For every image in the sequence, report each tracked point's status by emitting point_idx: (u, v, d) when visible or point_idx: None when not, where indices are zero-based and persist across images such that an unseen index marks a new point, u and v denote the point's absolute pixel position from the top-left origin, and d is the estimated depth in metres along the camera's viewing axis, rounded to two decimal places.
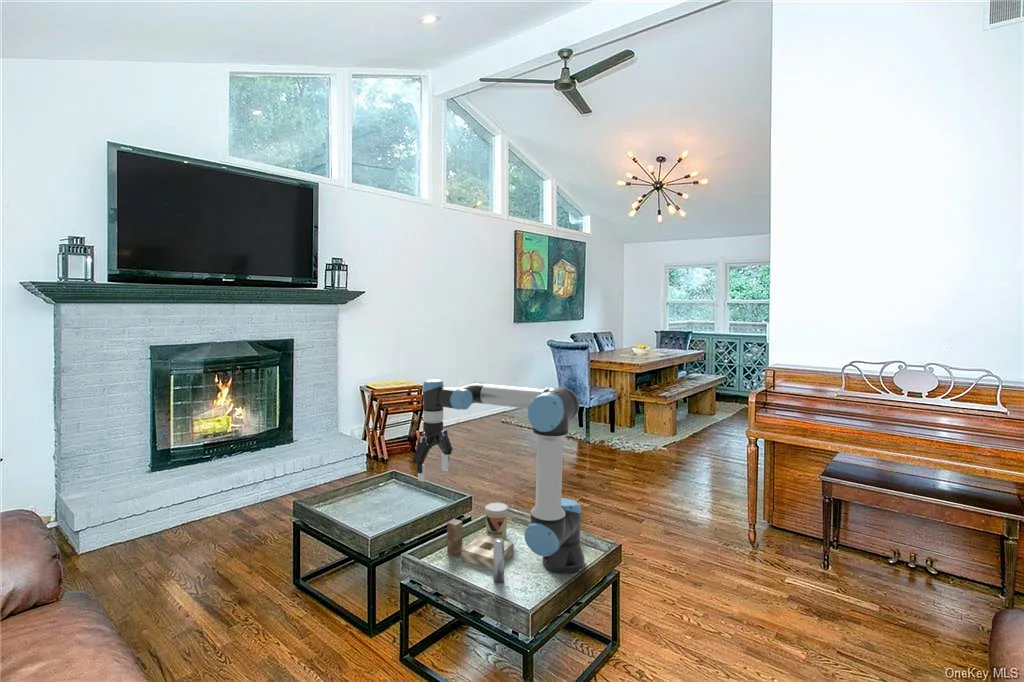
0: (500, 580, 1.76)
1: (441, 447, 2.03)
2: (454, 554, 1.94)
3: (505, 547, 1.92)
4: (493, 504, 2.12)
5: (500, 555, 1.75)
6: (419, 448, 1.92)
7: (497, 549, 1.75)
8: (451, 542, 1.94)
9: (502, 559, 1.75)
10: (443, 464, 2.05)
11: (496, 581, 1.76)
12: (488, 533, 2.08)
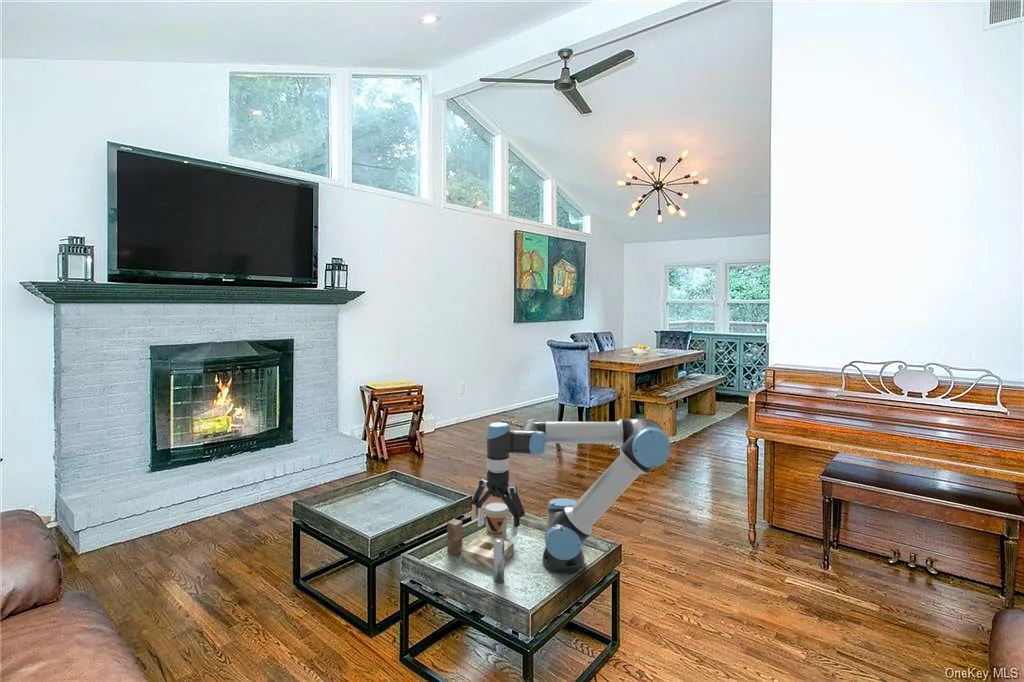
0: (500, 580, 1.76)
1: None
2: (454, 554, 1.94)
3: (505, 547, 1.92)
4: (493, 504, 2.12)
5: (500, 555, 1.75)
6: None
7: (497, 550, 1.75)
8: (451, 542, 1.94)
9: (502, 559, 1.75)
10: None
11: (496, 581, 1.76)
12: (488, 533, 2.08)
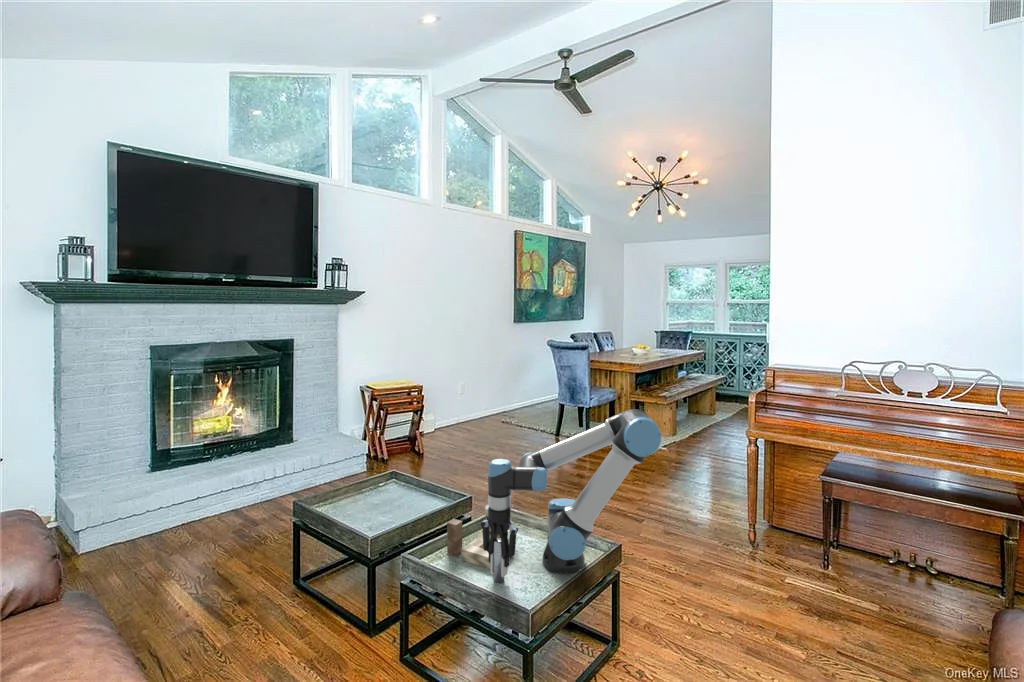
0: (500, 580, 1.76)
1: None
2: (454, 554, 1.94)
3: None
4: None
5: (500, 555, 1.75)
6: None
7: (497, 549, 1.75)
8: (451, 542, 1.94)
9: None
10: None
11: (496, 581, 1.76)
12: None
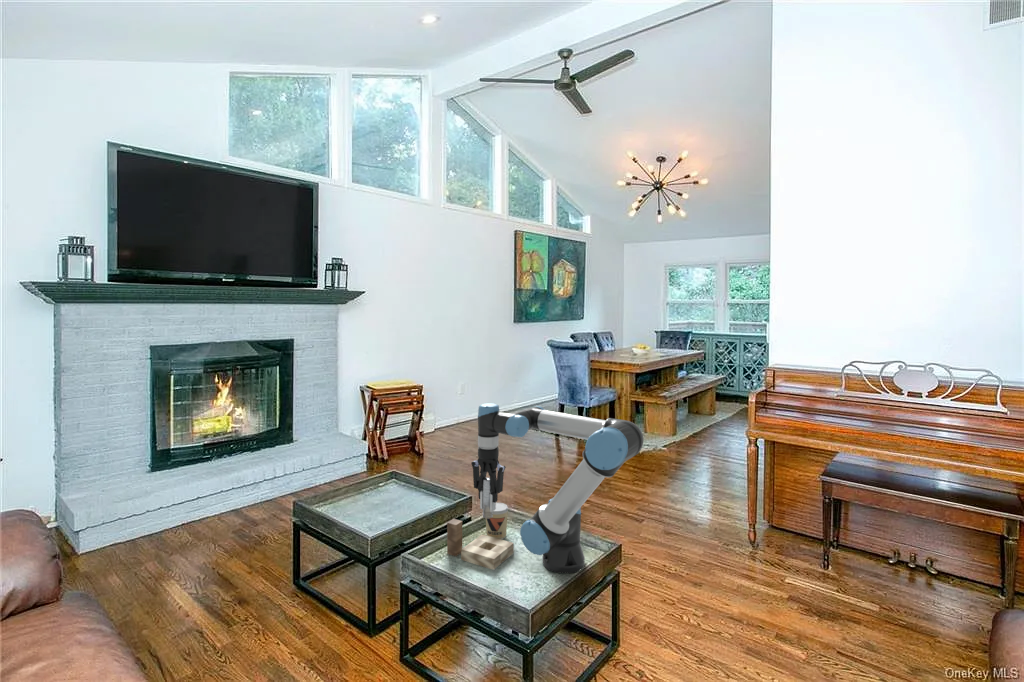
0: (489, 515, 1.91)
1: None
2: (454, 554, 1.94)
3: (505, 547, 1.92)
4: None
5: (489, 492, 1.90)
6: None
7: (486, 487, 1.90)
8: (451, 542, 1.94)
9: None
10: None
11: (485, 516, 1.91)
12: (488, 533, 2.08)
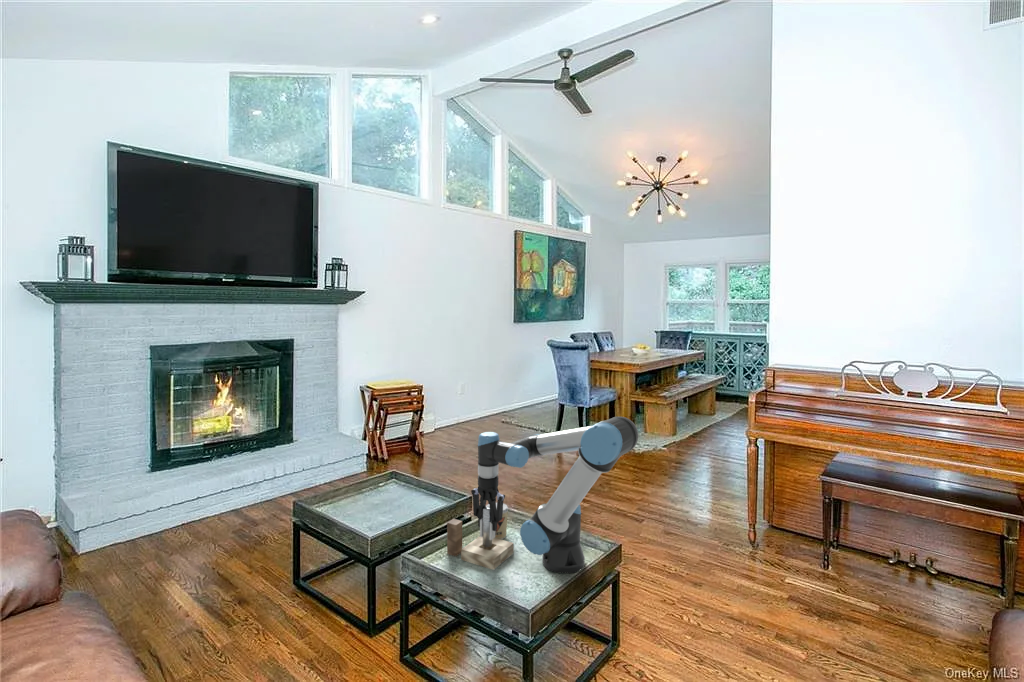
0: (488, 544, 1.92)
1: None
2: (454, 554, 1.94)
3: (505, 547, 1.92)
4: None
5: (488, 521, 1.91)
6: None
7: (486, 516, 1.91)
8: (451, 542, 1.94)
9: None
10: None
11: (485, 545, 1.92)
12: None
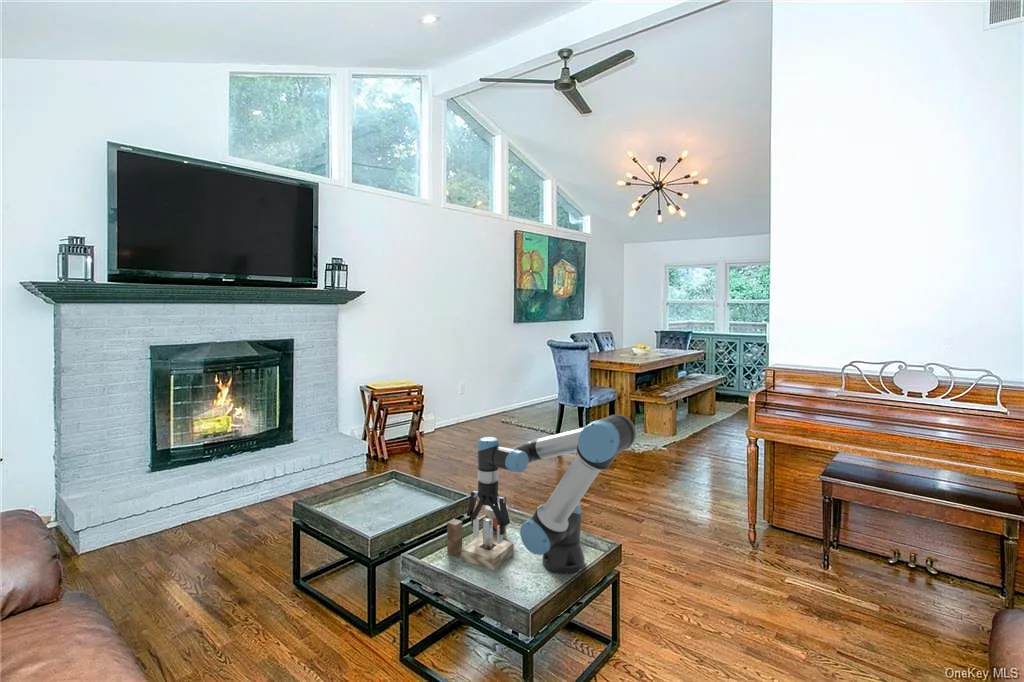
0: None
1: None
2: (454, 554, 1.94)
3: (505, 547, 1.92)
4: None
5: (488, 533, 1.91)
6: None
7: (486, 528, 1.91)
8: (451, 542, 1.94)
9: (491, 536, 1.92)
10: None
11: None
12: None
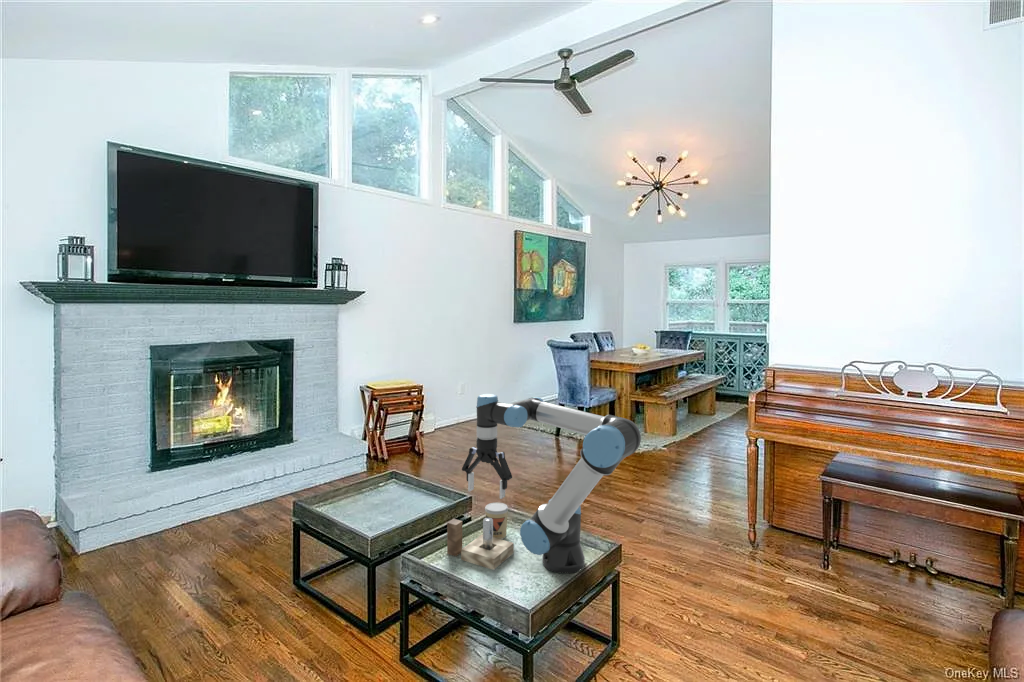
0: None
1: None
2: (454, 554, 1.94)
3: (505, 547, 1.92)
4: (493, 504, 2.12)
5: (489, 533, 1.91)
6: None
7: (486, 528, 1.91)
8: (451, 542, 1.94)
9: (491, 536, 1.92)
10: None
11: None
12: None
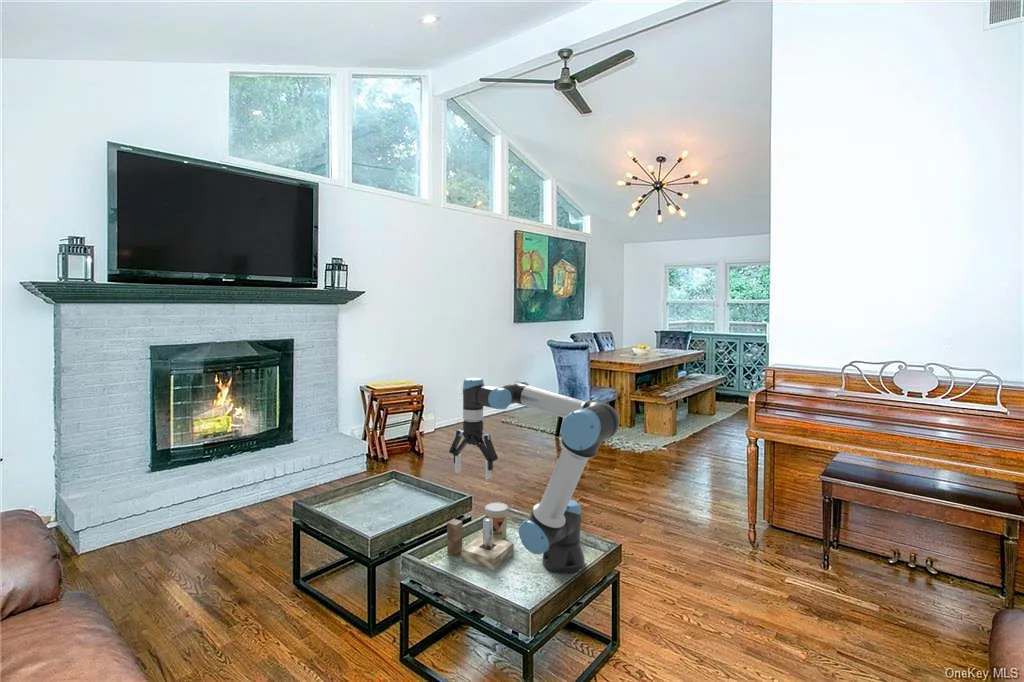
0: None
1: None
2: (454, 554, 1.94)
3: (505, 547, 1.92)
4: (493, 504, 2.12)
5: (488, 533, 1.91)
6: None
7: (486, 528, 1.91)
8: (451, 542, 1.94)
9: (491, 536, 1.92)
10: None
11: None
12: None
